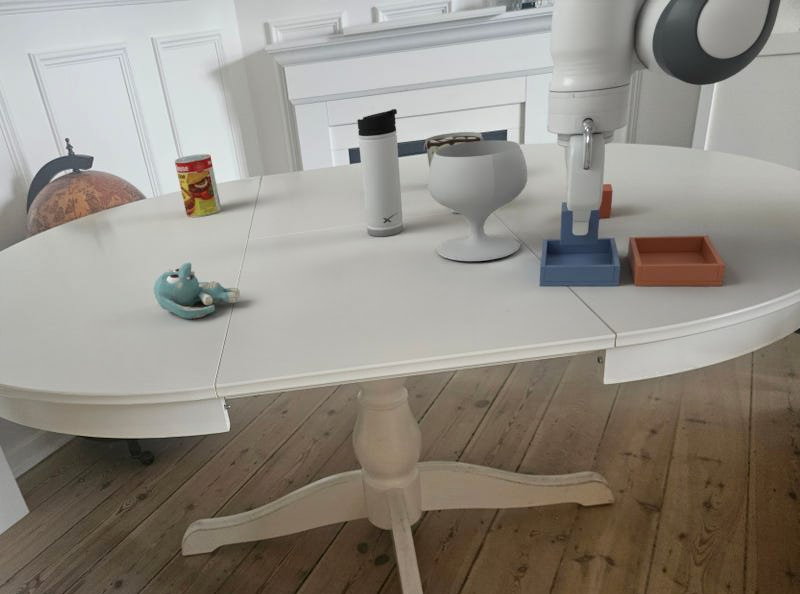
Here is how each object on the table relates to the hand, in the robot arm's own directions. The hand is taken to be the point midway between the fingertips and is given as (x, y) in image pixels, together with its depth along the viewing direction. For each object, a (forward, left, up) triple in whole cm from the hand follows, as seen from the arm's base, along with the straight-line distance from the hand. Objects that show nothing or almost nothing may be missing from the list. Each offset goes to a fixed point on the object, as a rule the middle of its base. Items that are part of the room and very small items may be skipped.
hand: (579, 226), depth 81 cm
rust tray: (-11, 0, -6) cm, 13 cm away
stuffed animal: (+50, +14, -6) cm, 52 cm away
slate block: (0, 0, -2) cm, 2 cm away
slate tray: (0, 0, -6) cm, 6 cm away
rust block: (-3, -26, -6) cm, 27 cm away
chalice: (+14, -9, -6) cm, 18 cm away
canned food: (+78, -39, -6) cm, 87 cm away
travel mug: (+31, -20, -6) cm, 37 cm away
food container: (+24, -54, -6) cm, 59 cm away
